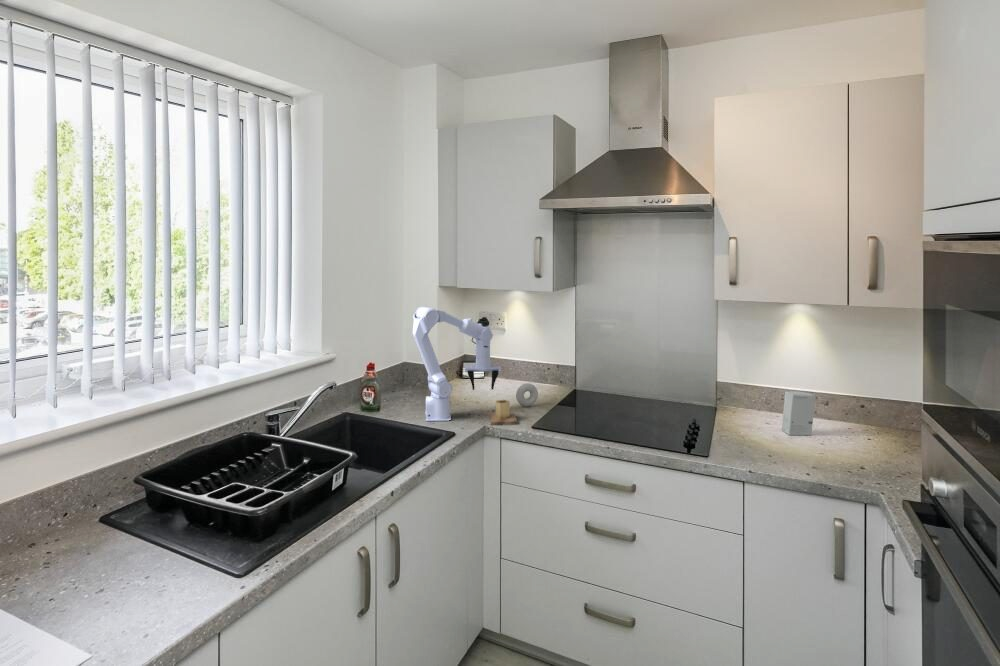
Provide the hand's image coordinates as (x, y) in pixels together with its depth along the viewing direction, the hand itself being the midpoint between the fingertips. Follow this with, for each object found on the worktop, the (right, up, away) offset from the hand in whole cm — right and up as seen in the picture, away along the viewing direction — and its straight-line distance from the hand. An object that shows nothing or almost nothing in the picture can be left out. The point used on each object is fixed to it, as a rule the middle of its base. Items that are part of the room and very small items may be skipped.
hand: (482, 389), depth 226 cm
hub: (+8, -10, -10) cm, 16 cm away
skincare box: (+114, -14, -25) cm, 117 cm away
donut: (+18, -8, +9) cm, 22 cm away
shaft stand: (+8, -11, -10) cm, 17 cm away
